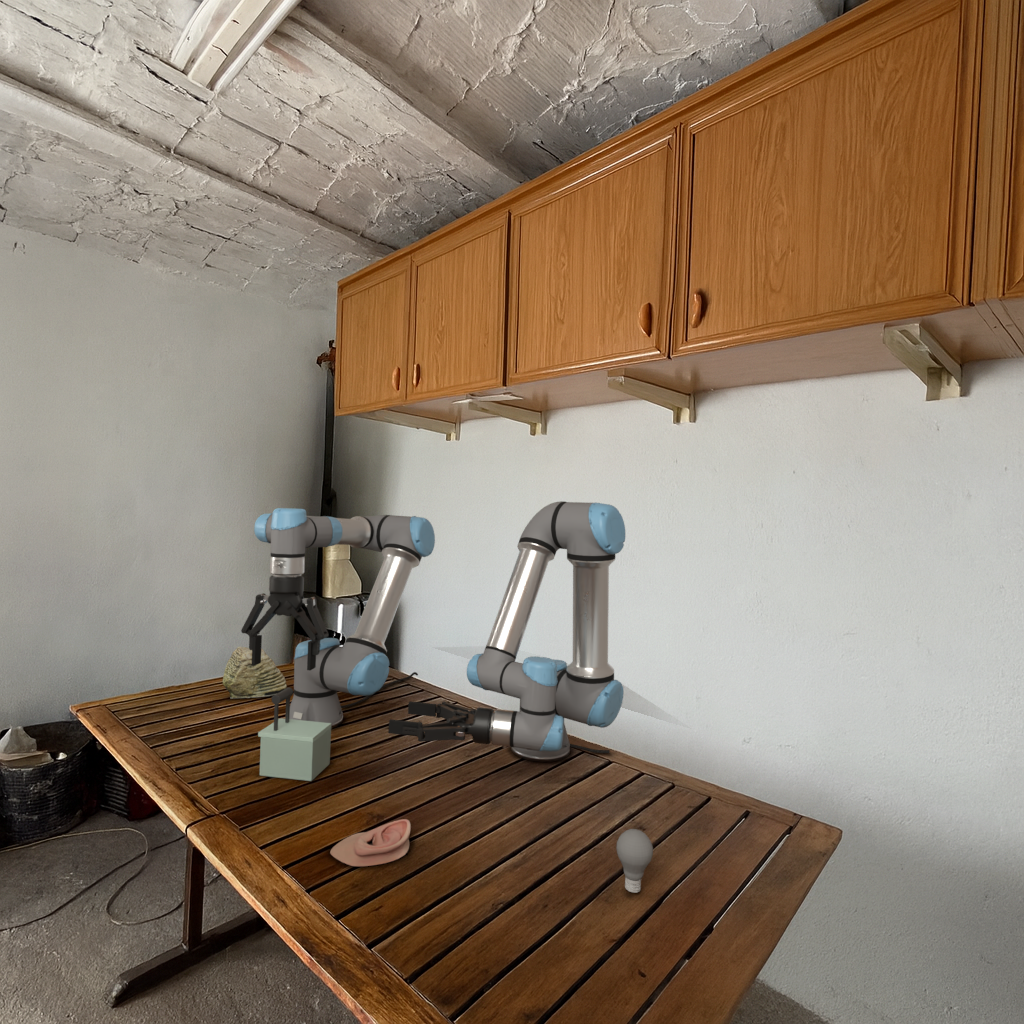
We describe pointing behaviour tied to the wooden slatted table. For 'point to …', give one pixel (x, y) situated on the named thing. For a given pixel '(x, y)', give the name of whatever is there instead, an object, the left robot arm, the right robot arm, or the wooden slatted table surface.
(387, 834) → the anatomical model
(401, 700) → the wooden slatted table surface
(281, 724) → the lid
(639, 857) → the light bulb
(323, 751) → the chest
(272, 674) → the fossil
